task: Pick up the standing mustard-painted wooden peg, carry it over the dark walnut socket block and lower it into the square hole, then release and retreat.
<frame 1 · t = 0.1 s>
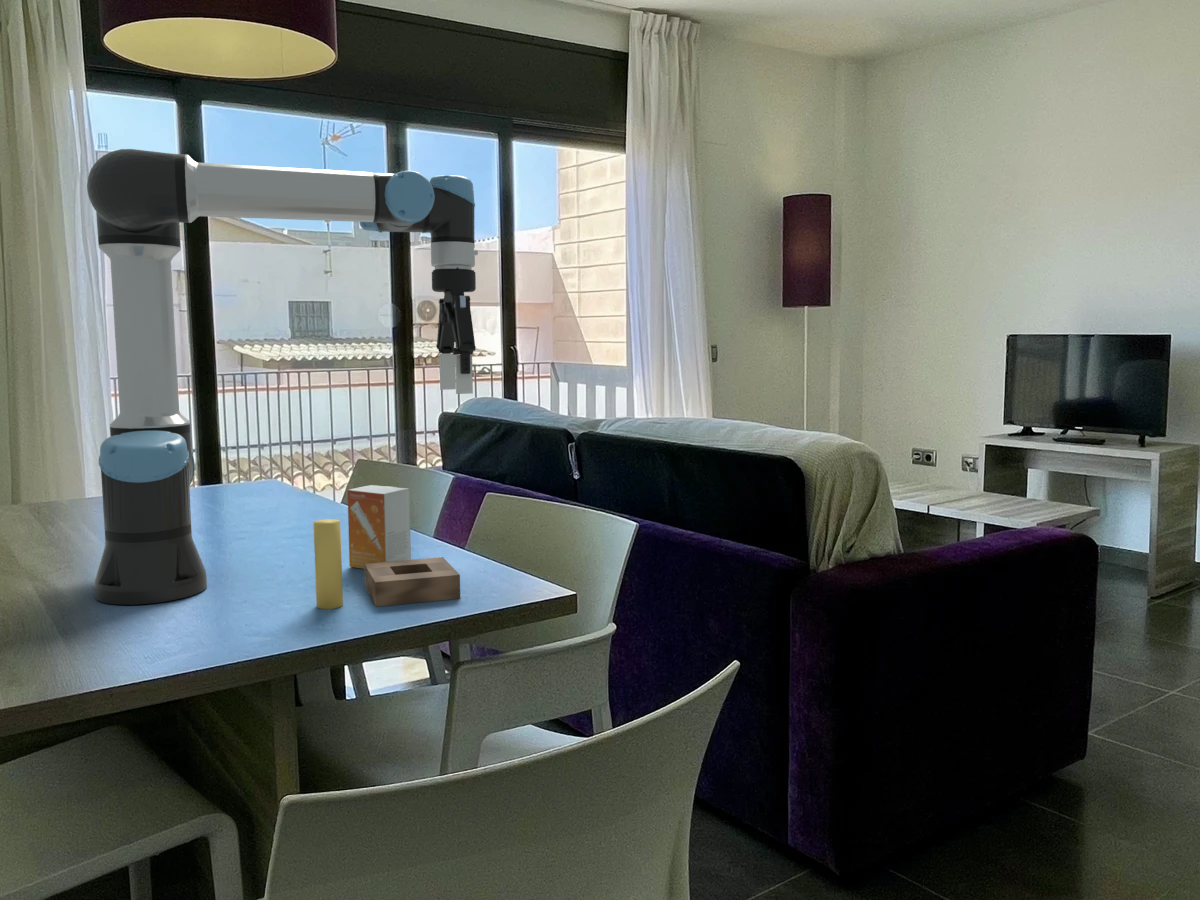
hand: (455, 391, 171), 28 cm above the table, fingers open, 13 cm apart
small box: (380, 567, 160), on the table
socket block: (411, 592, 144), on the table
peg: (329, 605, 137), on the table
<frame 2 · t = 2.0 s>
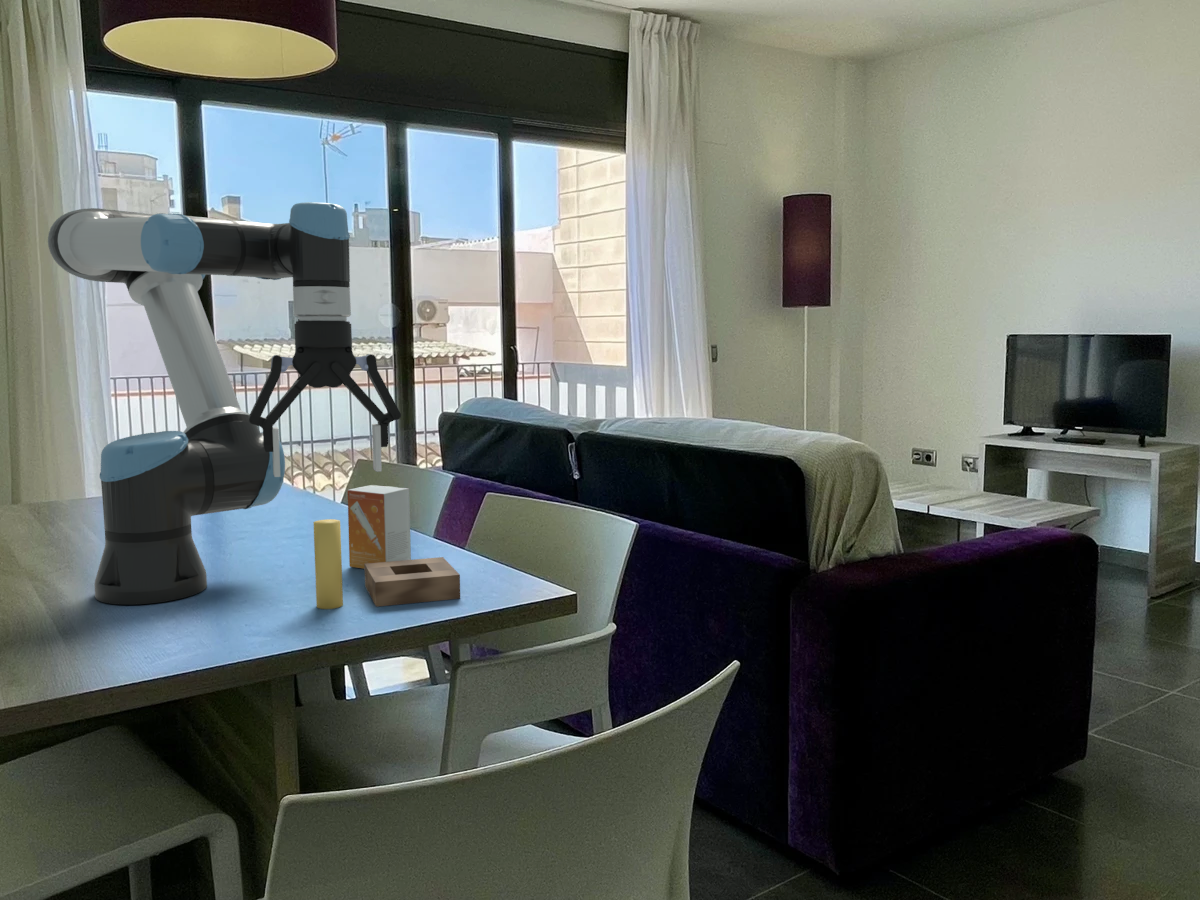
hand: (328, 473, 136), 19 cm above the table, fingers open, 13 cm apart
nothing on the table moved.
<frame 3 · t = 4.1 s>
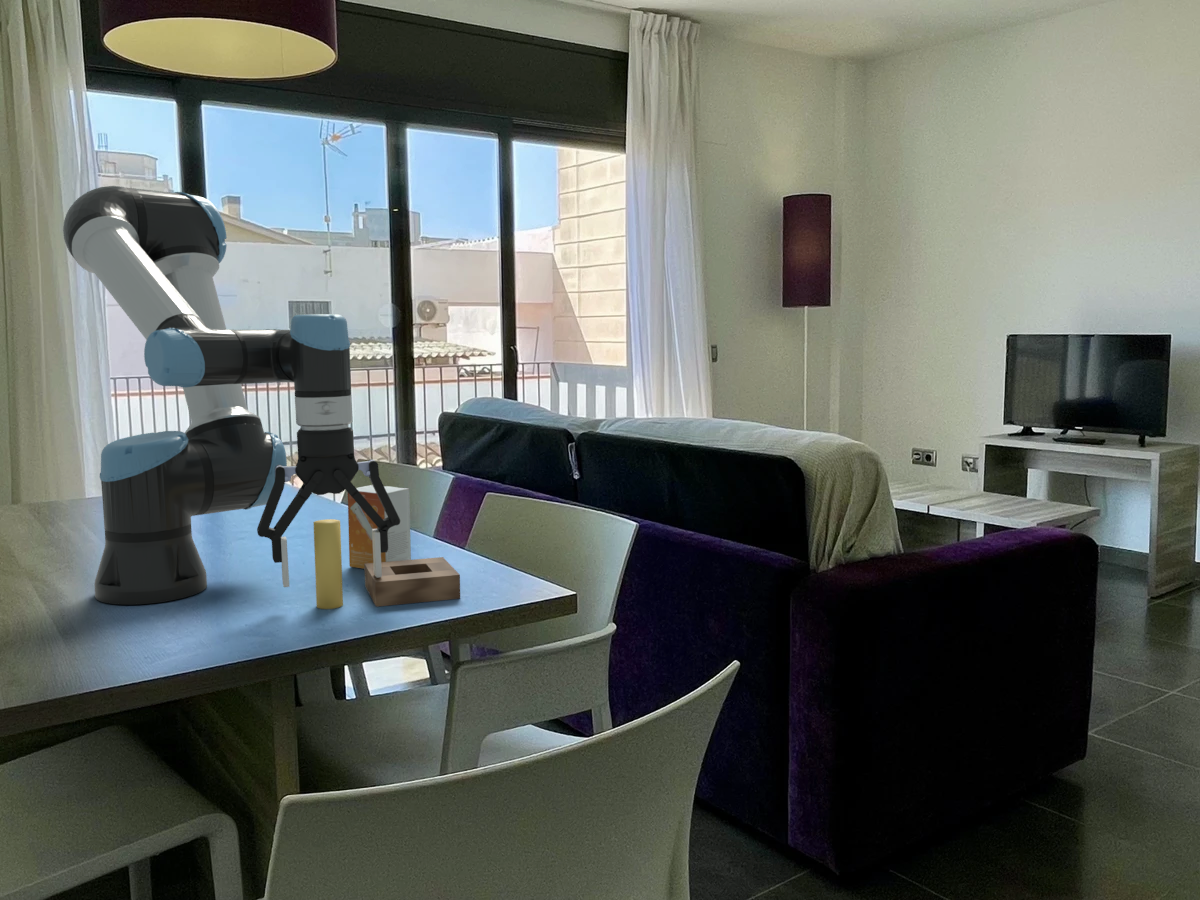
hand: (332, 580, 137), 4 cm above the table, fingers open, 12 cm apart
nothing on the table moved.
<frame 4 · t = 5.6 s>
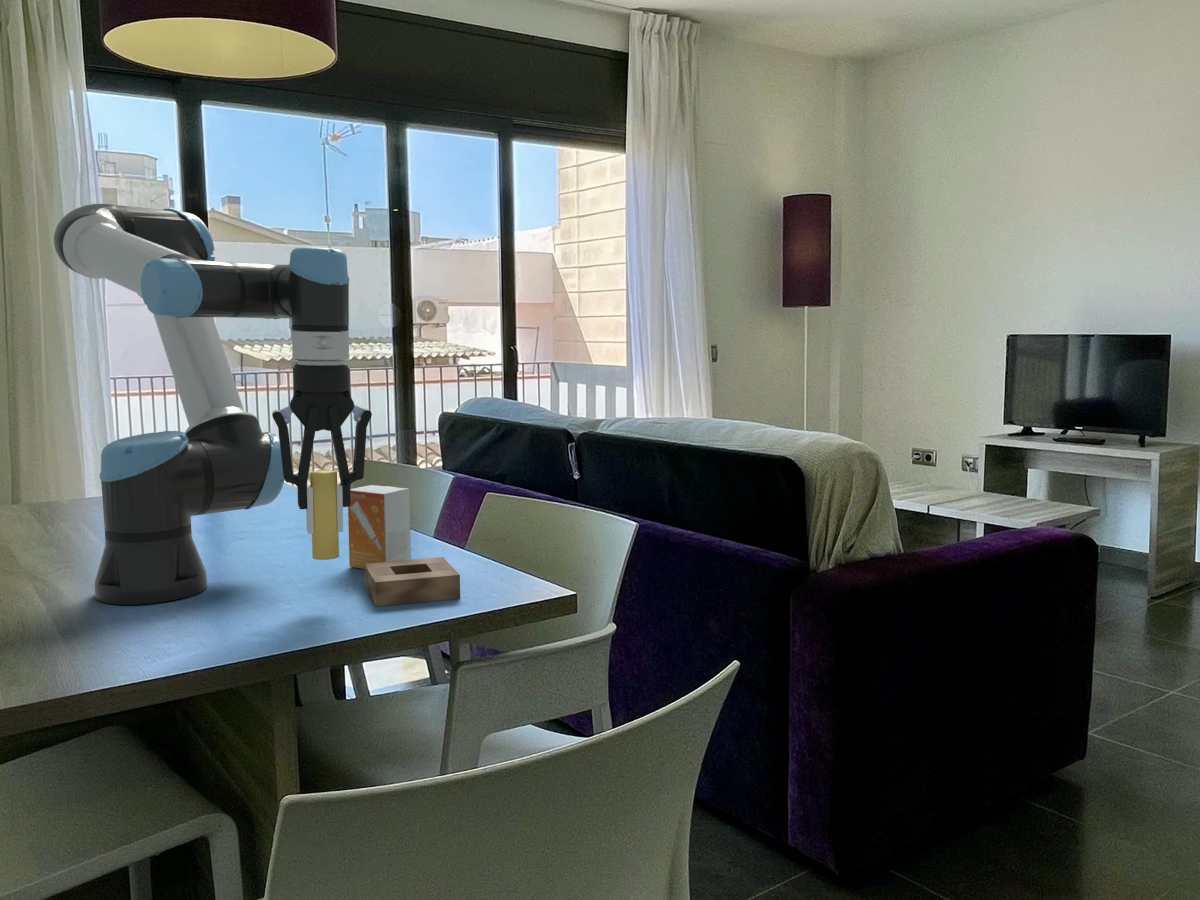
hand: (324, 530, 136), 11 cm above the table, fingers closed on peg, 3 cm apart
peg: (325, 556, 136), point 7 cm above the table, touching gripper
everything else where it was.
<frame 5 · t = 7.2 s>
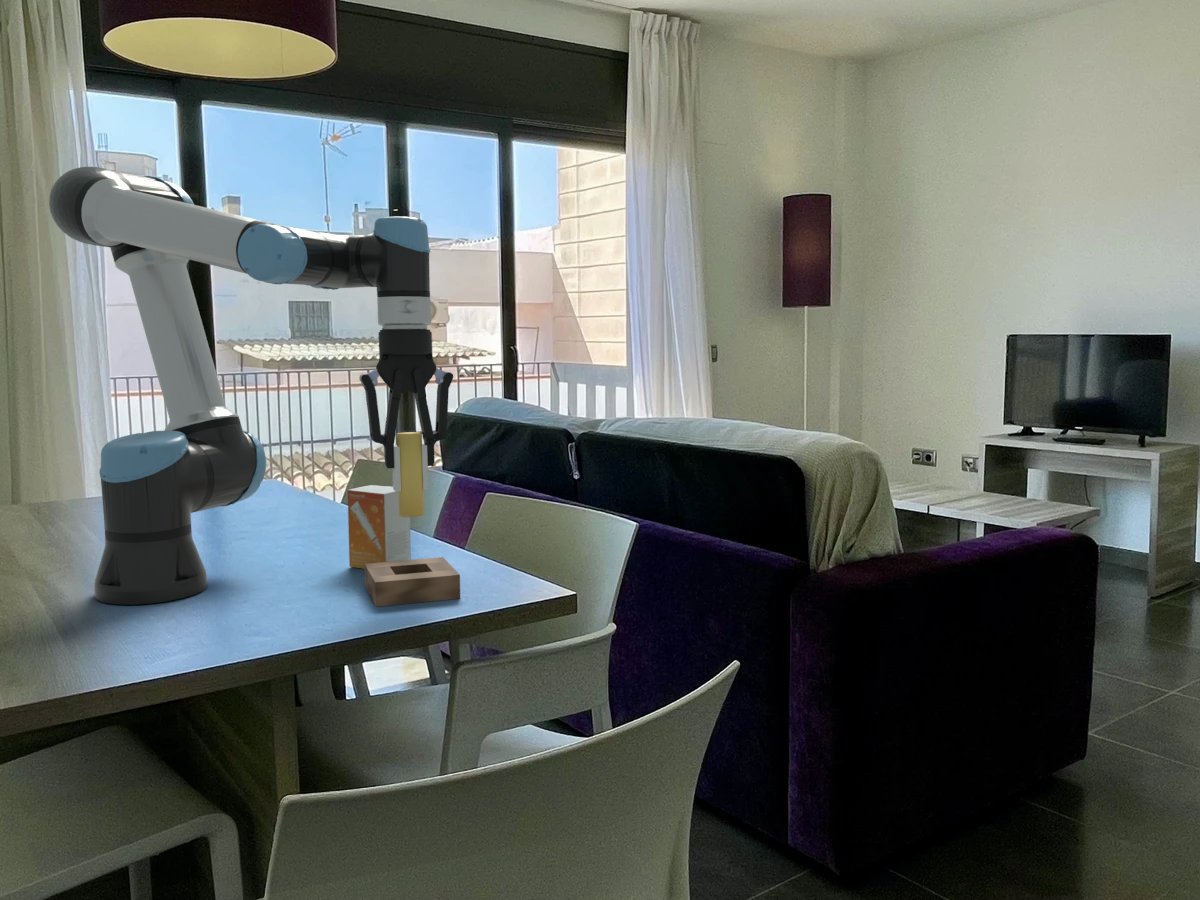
hand: (410, 489, 142), 15 cm above the table, fingers closed on peg, 3 cm apart
peg: (411, 514, 142), point 12 cm above the table, touching gripper
everything else where it was.
when the fingers open (4 cm above the table, at t = 9.3 s): peg stays where it is, resting on socket block.
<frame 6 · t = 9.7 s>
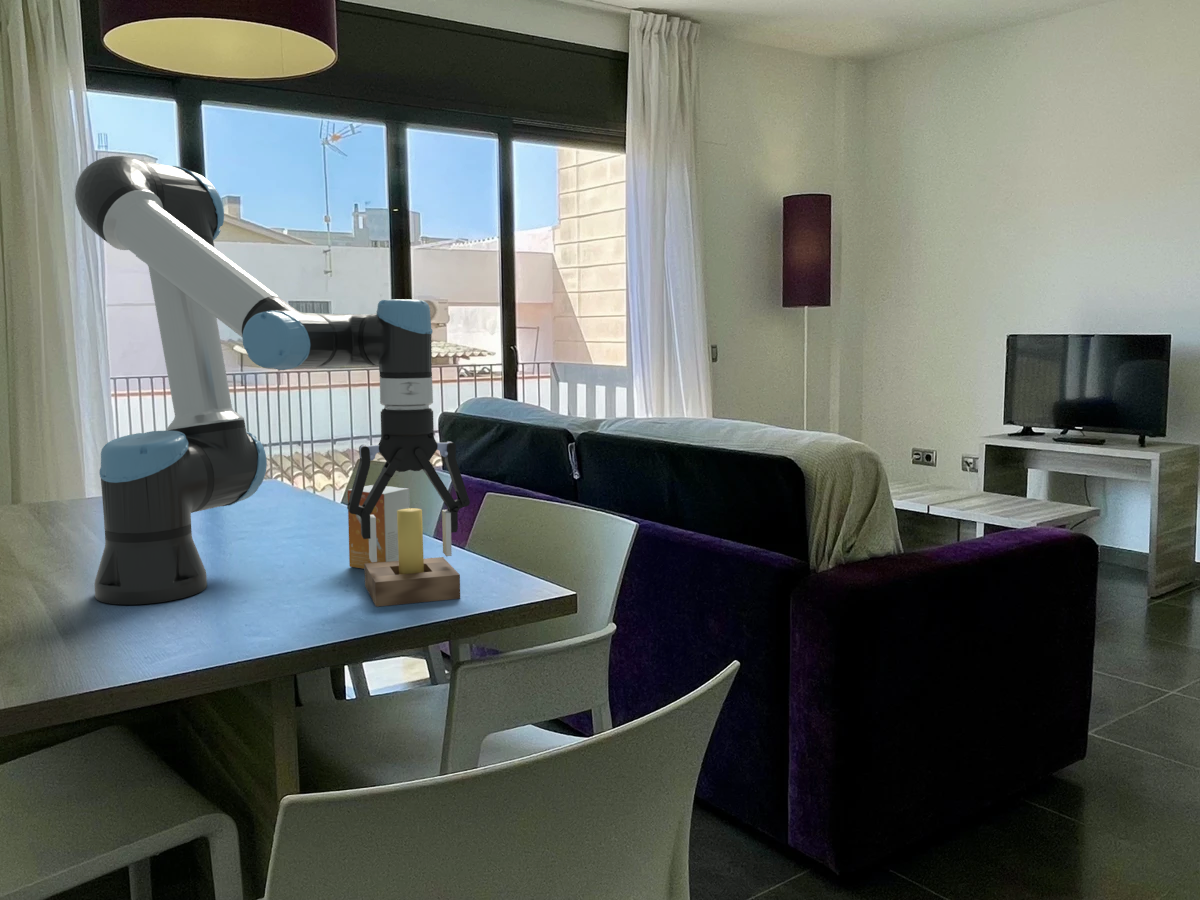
hand: (410, 557, 143), 5 cm above the table, fingers open, 10 cm apart
peg: (412, 590, 144), resting on socket block
everything else where it was.
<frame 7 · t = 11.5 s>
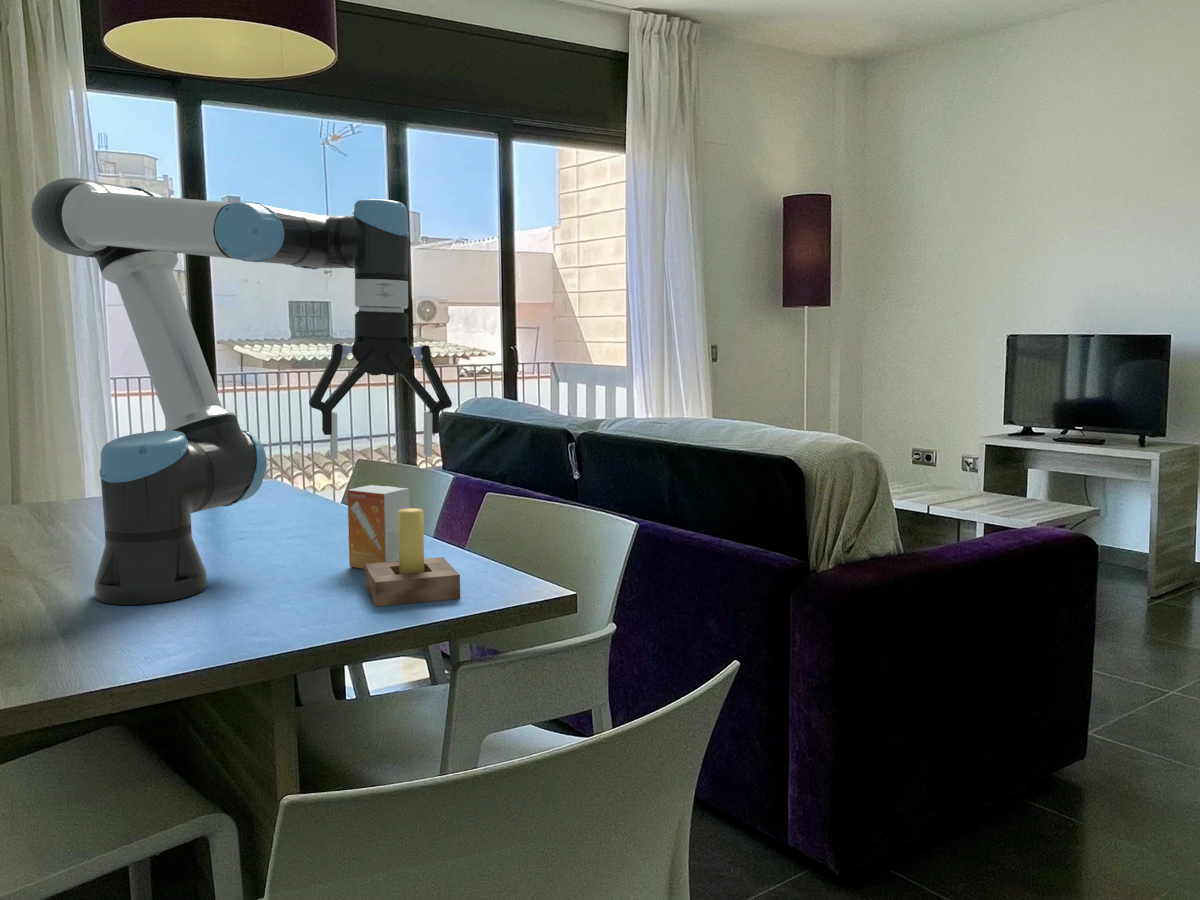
hand: (381, 456, 143), 20 cm above the table, fingers open, 13 cm apart
nothing on the table moved.
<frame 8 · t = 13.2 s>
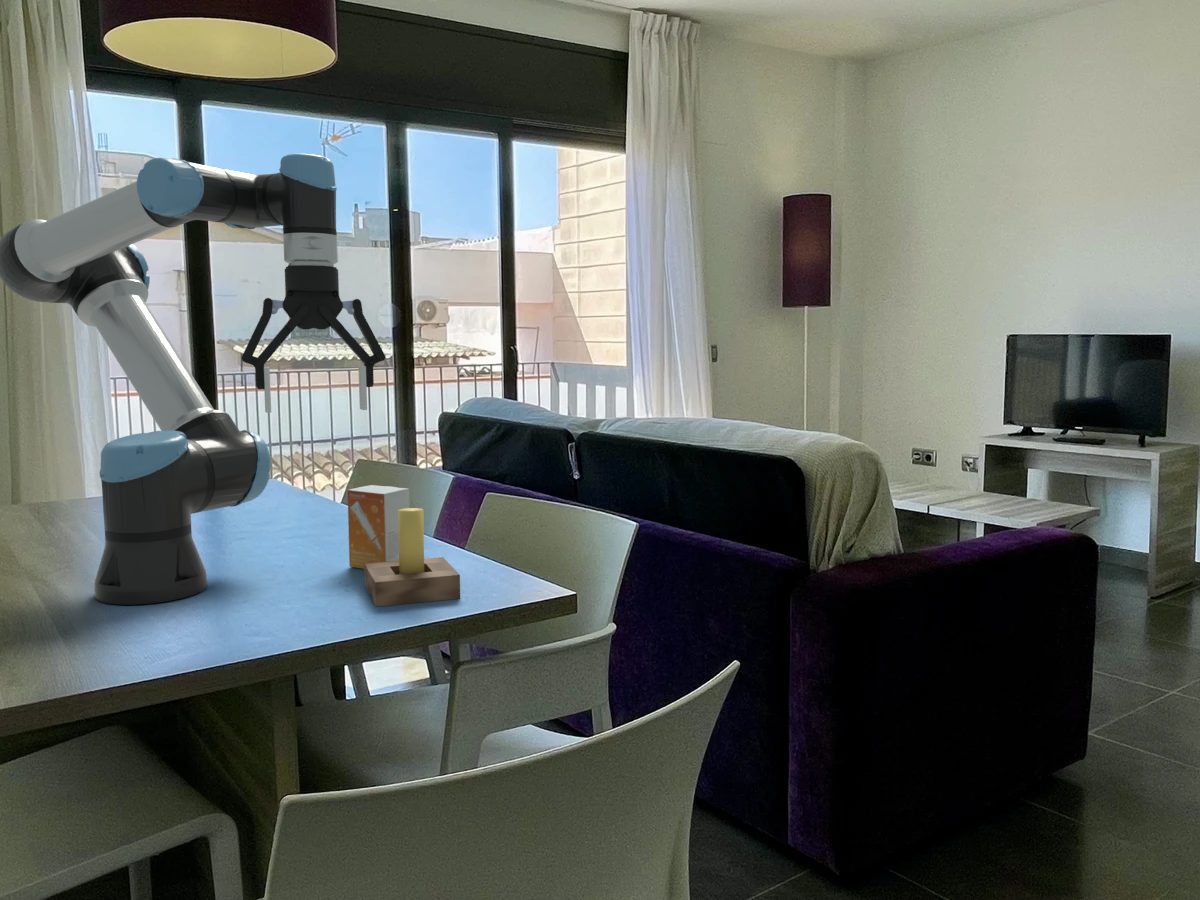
hand: (316, 410, 144), 27 cm above the table, fingers open, 13 cm apart
nothing on the table moved.
at the end: peg 0.3 cm off-centre on the socket block, point 0.3 cm above the socket block's base; peg tilted 2°; the gripper is holding nothing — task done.
